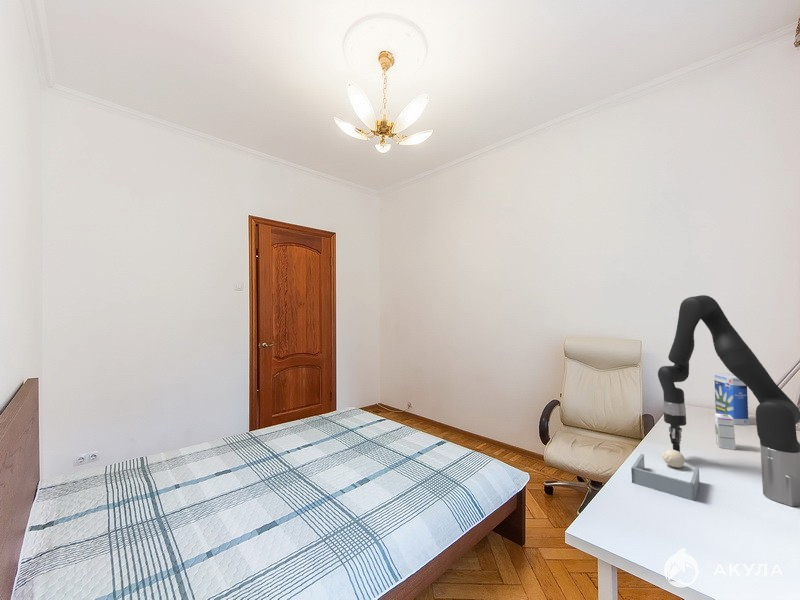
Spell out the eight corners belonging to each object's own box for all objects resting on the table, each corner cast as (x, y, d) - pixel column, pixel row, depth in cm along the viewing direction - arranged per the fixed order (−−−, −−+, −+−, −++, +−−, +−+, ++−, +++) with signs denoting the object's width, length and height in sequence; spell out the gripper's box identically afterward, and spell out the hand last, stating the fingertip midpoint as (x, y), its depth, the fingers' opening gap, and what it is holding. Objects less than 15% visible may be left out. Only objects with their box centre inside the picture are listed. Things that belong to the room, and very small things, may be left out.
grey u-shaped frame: (641, 467, 139) (641, 453, 140) (699, 482, 126) (698, 467, 127) (631, 482, 127) (631, 467, 128) (694, 501, 115) (694, 484, 115)
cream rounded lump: (658, 463, 143) (657, 447, 143) (676, 462, 143) (675, 446, 143) (670, 470, 136) (670, 453, 136) (689, 470, 136) (688, 453, 136)
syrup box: (736, 450, 153) (734, 418, 153) (718, 447, 156) (717, 416, 156) (732, 445, 158) (730, 414, 158) (715, 443, 161) (713, 412, 161)
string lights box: (715, 417, 197) (713, 373, 198) (730, 417, 196) (727, 373, 197) (734, 425, 184) (731, 377, 185) (750, 425, 183) (747, 377, 184)
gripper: (666, 407, 153) (668, 445, 153) (660, 413, 144) (662, 455, 143) (687, 410, 148) (689, 450, 147) (683, 417, 139) (685, 460, 138)
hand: (676, 452), depth 145 cm, fingers closed
